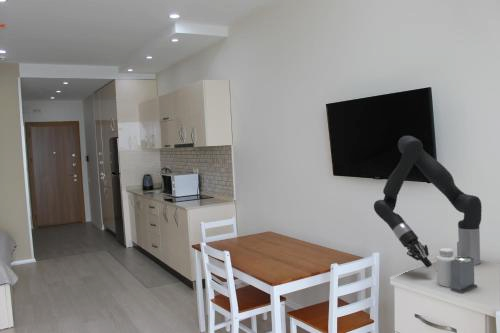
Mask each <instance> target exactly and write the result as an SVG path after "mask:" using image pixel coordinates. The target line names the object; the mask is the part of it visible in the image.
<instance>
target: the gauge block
mask: <svg viewBox="0 0 500 333" xmlns="http://www.w3.org/2000/svg"><path fill="white" fill-rule="evenodd" d="M454 256H455V257H454V260H453V261H451V273H450V276H451V287H450V291H452V292H455V293H460V294H462V295H463V294H465V293H467V292H469V291H472V290H474V289H476V288H478V284H475V265H474V258H472V257H467V256H457V255H454Z"/></svg>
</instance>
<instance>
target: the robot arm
mask: <svg viewBox="0 0 500 333" xmlns="http://www.w3.org/2000/svg"><path fill="white" fill-rule="evenodd" d="M397 147H398V150H399V152H400V153H401V158H400V161H399V163H398V164H397V166H396V168H394V170H393V171H392V173H391V174H390V175H389V176H388V179H387V180H386V183H385V185H384V187H383V190H382V193H383V195H384V197H383V199H377V200H376V201H375V202H374V204H373V210H374V212H375V213H376V215H377V216H378V217H379V218H380V219H381V220H383V221H384V222H385V223H386V224H387V225H388V227H389V228H390V229H391V230H392V231H393V233H394V235H395V238H397V239H398V240H399V242H400V243H401V245H402V246H403V247H404V248H406V249H407V252H406V255H408V256H409V257H411V258H412V259H414V260H415V261H421V262H422V263H423V265H424V266H425V267H426V268H427V269H428V268H430V267H432V265H433V264H432V262H431V260H430V259H429V258H428V256H430V254H429V248H428V245H427V244H424V245H423V244H422V243H421V242H420V241H419V236H417V234H416V233H415V231H414V230H413V229H412V228H411V227H410V225H409V224H407V223H406V221H405V220H404V219H403V218H402V216H401V215H400V214H399V213H396V212H394V210H395V208H396V207H397V206H396V205H397V200H398V195H399V194H400V191H401V189H402V186H403V184H404V182H405V180H406V177H407V176H408V174H409V173H410V172H411V169H412V168H413V166H414V165H416V167H417V168H418V169H419V171H420V172H421V174H423V175H424V176H425V177H426V179H427V180H428V181H429V182H430V183H431V184H432V185H433V186H434V187H435V188H436V189H437V190H438V191H440V192H441V194H443V195H444V196H445V197H446V198H447V199H448V201H449V203H450V204H451V205H452V207H454V208H455V210H456V211H458V212H459V213H462V214H463V219H461V220H459V221H457V222H458V223H457V228H458V229H457V230H458V231H457V233H458V235H457V237H458V241H457V243H456V256H467V257H472V258H474V266H477V265H480V264H481V243H480V242H481V238H480V225H481V223H482V212H483V211H482V208H483V206H482V201H481V199H480V197H478V196H477V195H473V194H472V195H471V194H467V193H464V192H463V191H462V190H461V189H460V188H459V187H458V186H457V185H456V184H455V180H454V178H453V175H452V174H451V173H450V171H449V170H448V169H447V168H446V167H445V166H444V165H443V164H442V163H441V162H439V161H438V160H436V159H435V158H434V157H432V156H431V155H430V154H429V153H427V152H426V151H425V150H424V149H423V148H424V146H423V143H422V141H421V140H420V139H418V138H417V137H414V136H412V135H403V136H402V137H400V138H399V140H398V141H397Z"/></svg>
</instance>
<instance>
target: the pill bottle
mask: <svg viewBox="0 0 500 333" xmlns="http://www.w3.org/2000/svg"><path fill="white" fill-rule="evenodd" d="M455 256H456V255H454V250H453V248H449V247H444V248H443V247H441V248H440V249H439V255H437V257H436V278H437V279H436V281H437V282H436V283H437V284H438V285H439V286H443V287H446V288H447V287H448V288H451V276H450V273H451V261H453V260H454V257H455Z"/></svg>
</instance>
